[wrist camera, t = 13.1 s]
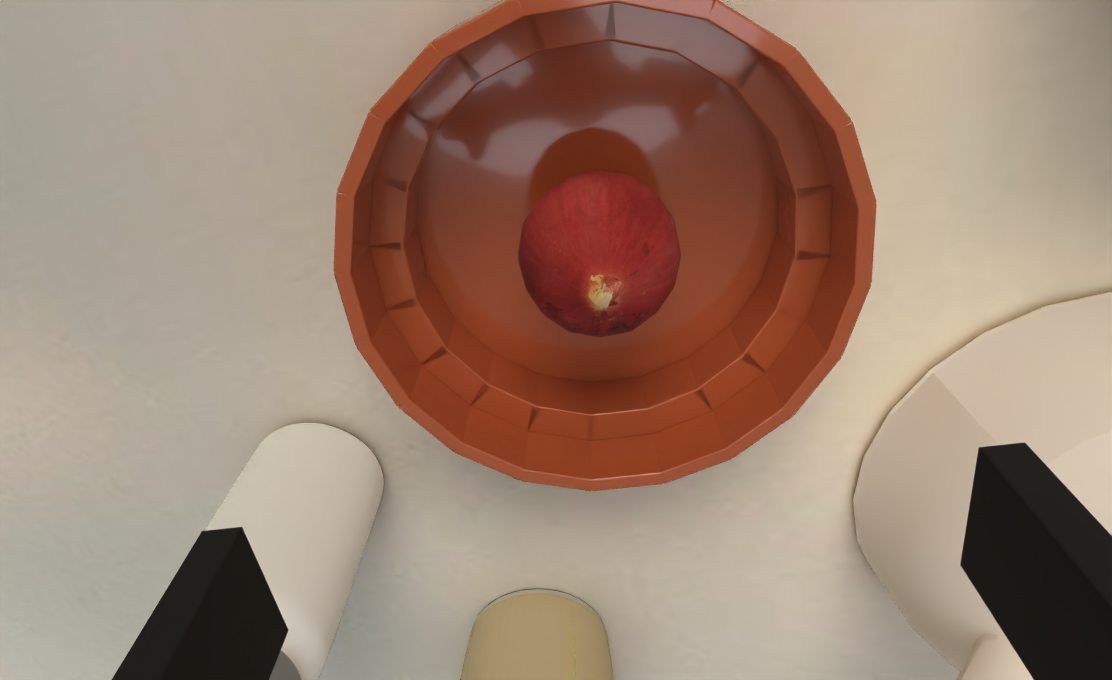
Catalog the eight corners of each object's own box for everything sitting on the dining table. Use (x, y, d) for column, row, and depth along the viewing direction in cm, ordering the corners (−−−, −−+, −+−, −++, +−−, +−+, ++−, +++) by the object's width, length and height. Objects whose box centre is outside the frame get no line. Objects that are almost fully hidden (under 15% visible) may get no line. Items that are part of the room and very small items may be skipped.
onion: (677, 272, 31) (710, 367, 24) (543, 299, 32) (536, 400, 25) (653, 134, 28) (683, 195, 21) (508, 167, 29) (489, 238, 22)
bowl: (320, 17, 27) (261, 34, 22) (826, -61, 26) (894, -64, 20) (428, 427, 35) (404, 511, 30) (815, 384, 34) (861, 464, 29)
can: (412, 471, 37) (350, 682, 26) (335, 541, 39) (248, 763, 28) (305, 393, 35) (189, 588, 24) (229, 471, 37) (93, 682, 26)
